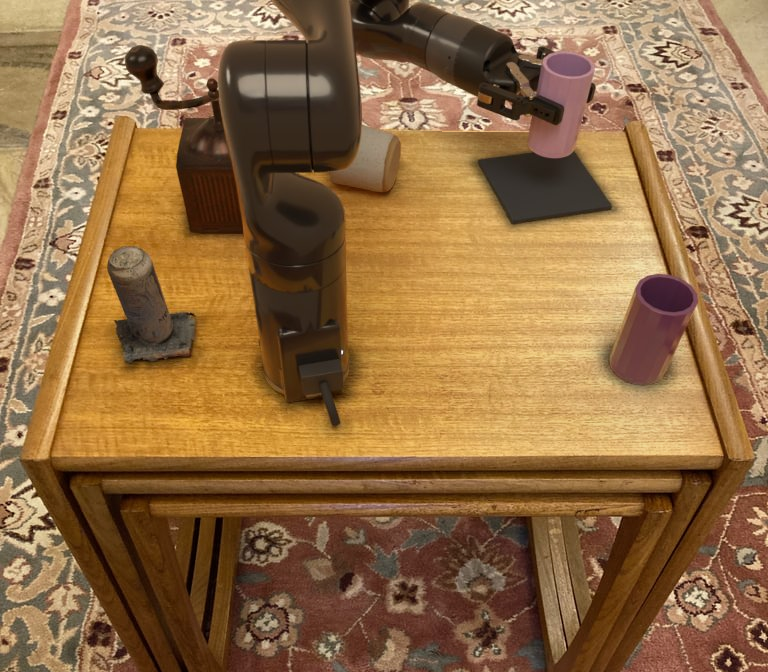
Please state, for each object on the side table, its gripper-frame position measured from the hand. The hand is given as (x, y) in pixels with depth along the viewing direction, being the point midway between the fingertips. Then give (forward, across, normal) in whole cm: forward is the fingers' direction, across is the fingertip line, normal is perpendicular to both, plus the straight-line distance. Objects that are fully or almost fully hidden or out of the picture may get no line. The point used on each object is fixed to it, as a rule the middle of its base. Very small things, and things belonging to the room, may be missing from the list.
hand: (577, 105), depth 93 cm
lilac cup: (-2, 0, +6) cm, 6 cm away
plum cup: (+25, -21, +12) cm, 34 cm away
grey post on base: (-17, -54, +12) cm, 58 cm away
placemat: (-2, 0, +12) cm, 12 cm away
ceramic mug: (-21, -15, +12) cm, 28 cm away
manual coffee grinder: (-31, -34, +12) cm, 47 cm away
